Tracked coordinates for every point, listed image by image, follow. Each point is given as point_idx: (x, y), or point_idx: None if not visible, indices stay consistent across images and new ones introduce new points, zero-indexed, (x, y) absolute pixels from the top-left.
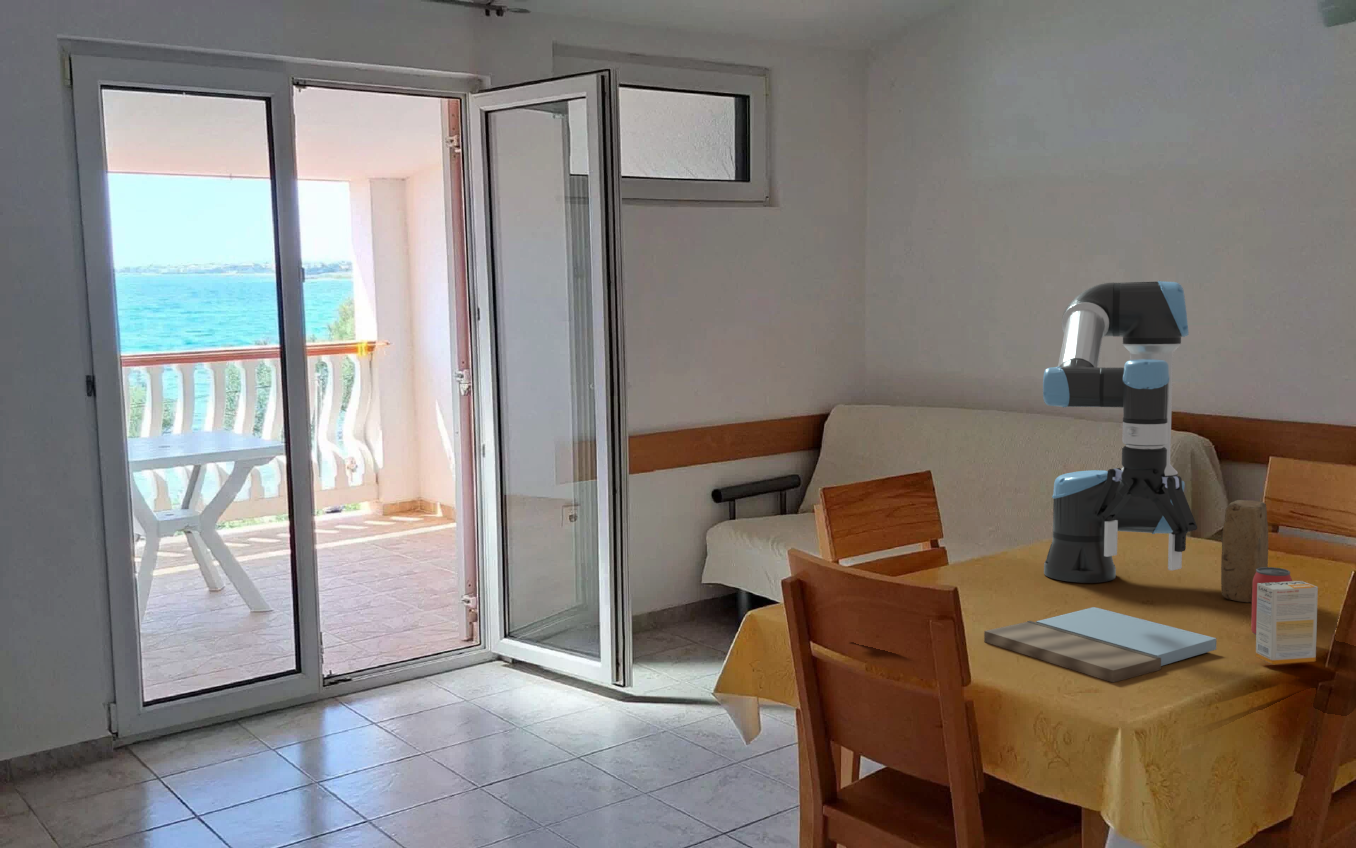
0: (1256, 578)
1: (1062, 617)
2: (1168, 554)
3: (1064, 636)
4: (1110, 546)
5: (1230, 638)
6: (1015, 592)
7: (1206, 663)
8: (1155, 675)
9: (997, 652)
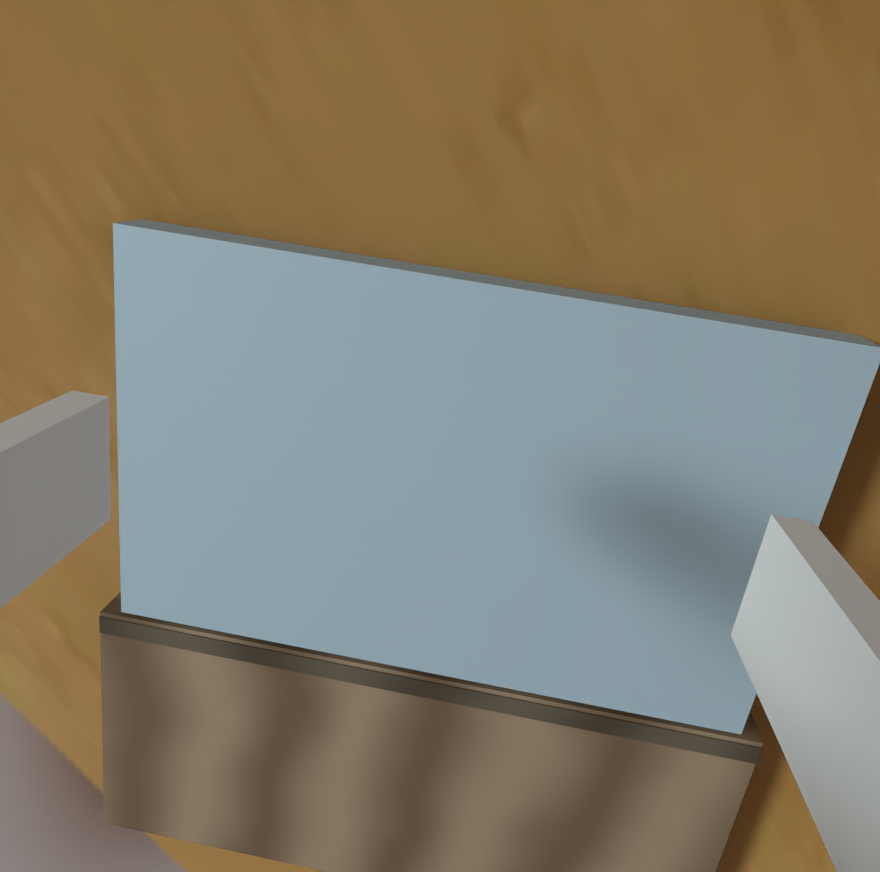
0: None
1: (147, 495)
2: (776, 733)
3: (332, 717)
4: (54, 522)
5: (834, 6)
6: None
7: (870, 523)
8: (759, 772)
9: (235, 854)
